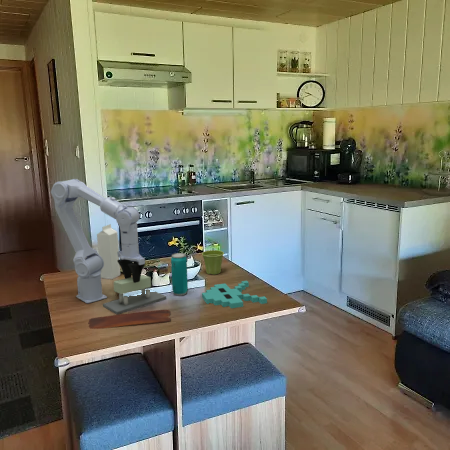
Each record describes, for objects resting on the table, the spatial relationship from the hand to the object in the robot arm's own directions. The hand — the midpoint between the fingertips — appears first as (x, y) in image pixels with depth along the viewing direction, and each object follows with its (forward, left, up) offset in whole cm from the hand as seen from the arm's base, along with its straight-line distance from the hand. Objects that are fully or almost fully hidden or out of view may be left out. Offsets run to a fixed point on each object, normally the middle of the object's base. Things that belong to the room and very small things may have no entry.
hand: (132, 280), depth 160 cm
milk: (-33, +9, -9) cm, 35 cm away
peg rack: (0, +1, -9) cm, 9 cm away
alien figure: (+20, +29, -9) cm, 36 cm away
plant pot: (-6, +43, -9) cm, 44 cm away
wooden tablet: (+11, -8, -10) cm, 17 cm away
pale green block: (0, 0, -3) cm, 3 cm away
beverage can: (+4, +18, -9) cm, 20 cm away
